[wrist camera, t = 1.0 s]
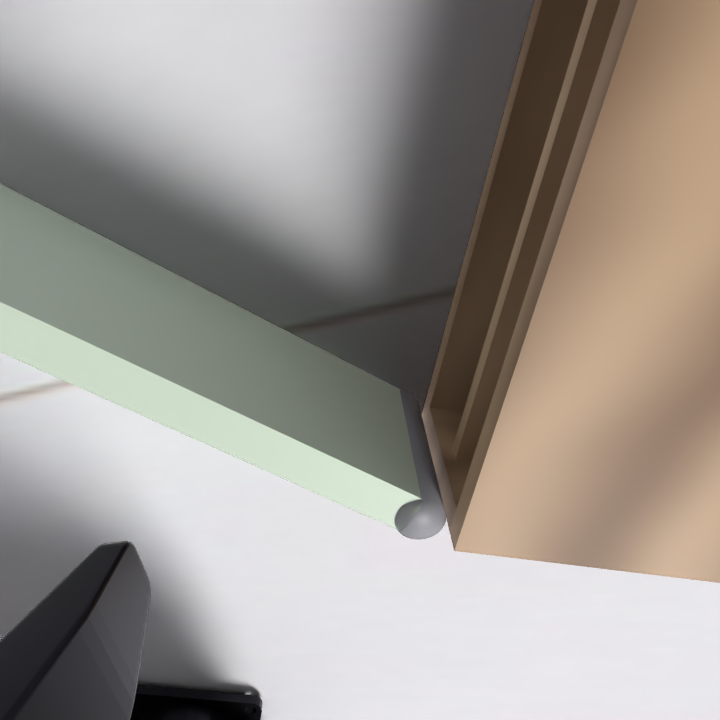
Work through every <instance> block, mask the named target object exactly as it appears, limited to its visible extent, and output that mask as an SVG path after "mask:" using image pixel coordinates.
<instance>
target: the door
mask: <svg viewBox="0 0 720 720" xmlns="http://www.w3.org/2000/svg"><path fill="white" fill-rule="evenodd" d="M0 352H1V353H4V354H6V355H8V356H10V357H12V358H15V359H17V360H19V361H21V362H24V363H26V364H28V365H30V366H33V367H35V368H37V369H39V370H42V371H44V372H46V373H48V374H51V375H53V376H55V377H57V378H59V379H62V380H64V381H66V382H68V383H71V384H73V385H75V386H77V387H80V388H82V389H84V390H86V391H89V392H91V393H93V394H95V395H97V396H100V397H102V398H104V399H106V400H109V401H111V402H113V403H115V404H118V405H120V406H122V407H124V408H127V409H129V410H131V411H133V412H135V413H138V414H140V415H142V416H144V417H147V418H149V419H151V420H153V421H156V422H158V423H160V424H162V425H165V426H167V427H169V428H171V429H174V430H176V431H178V432H180V433H182V434H185V435H187V436H189V437H191V438H194V439H196V440H198V441H200V442H203V443H205V444H207V445H209V446H212V447H214V448H216V449H218V450H220V451H223V452H225V453H227V454H229V455H232V456H234V457H236V458H238V459H241V460H243V461H245V462H247V463H250V464H252V465H254V466H256V467H258V468H261V469H263V470H265V471H267V472H270V473H272V474H274V475H276V476H279V477H281V478H283V479H285V480H288V481H290V482H292V483H294V484H296V485H299V486H301V487H303V488H305V489H308V490H310V491H312V492H314V493H317V494H319V495H321V496H323V497H326V498H328V499H330V500H332V501H335V502H337V503H339V504H341V505H343V506H346V507H348V508H350V509H352V510H355V511H357V512H359V513H361V514H364V515H366V516H368V517H370V518H373V519H375V520H377V521H379V522H381V523H384V524H386V525H388V526H390V527H393V528H395V529H397V530H398V531H399V532H400V533H401V534H402V535H403V536H405V537H408V538H411V539H426V538H429V537H432V536H434V535H435V534H437V533H438V532H439V531H440V530H441V529H442V528H443V526H444V524H445V522H446V513H445V509H444V505H443V501H442V497H441V493H440V489H439V484H438V480H437V476H436V472H435V468H434V464H433V460H432V456H431V452H430V447H429V443H428V439H427V435H426V431H425V427H424V423H423V419H422V415H421V411H420V406H419V402H418V399H417V397H416V396H415V395H414V394H413V393H412V392H410V391H408V390H404V389H398V388H397V387H395V386H393V385H391V384H389V383H387V382H385V381H383V380H381V379H379V378H377V377H375V376H373V375H371V374H369V373H367V372H365V371H364V370H362V369H360V368H358V367H356V366H354V365H352V364H350V363H348V362H346V361H344V360H342V359H340V358H338V357H336V356H334V355H332V354H330V353H329V352H327V351H325V350H323V349H321V348H319V347H317V346H315V345H313V344H311V343H309V342H307V341H305V340H303V339H301V338H299V337H297V336H296V335H294V334H292V333H290V332H288V331H286V330H284V329H282V328H280V327H278V326H276V325H274V324H272V323H270V322H268V321H266V320H264V319H262V318H261V317H259V316H257V315H255V314H253V313H251V312H249V311H247V310H245V309H243V308H241V307H239V306H237V305H235V304H233V303H231V302H229V301H227V300H226V299H224V298H222V297H220V296H218V295H216V294H214V293H212V292H210V291H208V290H206V289H204V288H202V287H200V286H198V285H196V284H194V283H193V282H191V281H189V280H187V279H185V278H183V277H181V276H179V275H177V274H175V273H173V272H171V271H169V270H167V269H165V268H163V267H161V266H159V265H158V264H156V263H154V262H152V261H150V260H148V259H146V258H144V257H142V256H140V255H138V254H136V253H134V252H132V251H130V250H128V249H126V248H124V247H123V246H121V245H119V244H117V243H115V242H113V241H111V240H109V239H107V238H105V237H103V236H101V235H99V234H97V233H95V232H93V231H91V230H90V229H88V228H86V227H84V226H82V225H80V224H78V223H76V222H74V221H72V220H70V219H68V218H66V217H64V216H62V215H60V214H58V213H56V212H55V211H53V210H51V209H49V208H47V207H45V206H43V205H41V204H39V203H37V202H35V201H33V200H31V199H29V198H27V197H25V196H23V195H21V194H20V193H18V192H16V191H14V190H12V189H10V188H8V187H6V186H4V185H2V184H0Z"/></svg>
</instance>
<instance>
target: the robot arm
mask: <svg viewBox="0 0 720 720" xmlns="http://www.w3.org/2000/svg"><path fill="white" fill-rule="evenodd" d="M150 595H151V588H150V581H149V578H148V576H147V573H146V571H145V569H144V566H143V564H142V562H141V559H140V557H139V555H138V553H137V550H136V548H135V546H134V545H133V544H132V543H131V542H128V541H121V542H111V543H104V544H101V545H100V546H98V547H97V548H96V549H95V550H94V551H93V552H92V553H91V554H90V555H89V556H88V557H87V558H86V559H84V560H83V561H82V562H81V563H80V564H79V565H78V566H77V567H76V568H75V569H74V570H73V571H72V572H71V573H70V574H69V575H68V576H67V577H66V578H65V579H64V580H63V581H62V582H61V583H60V584H59V585H58V586H57V587H56V588H55V589H53V590H52V591H51V592H50V593H49V594H48V595H47V596H46V597H45V598H44V599H43V600H42V601H41V602H40V603H39V604H38V605H37V606H36V607H35V608H34V609H33V610H32V611H31V612H30V613H29V614H28V615H27V616H26V617H25V618H23V619H22V620H21V621H20V622H19V623H18V624H17V625H16V626H15V627H14V628H13V629H12V630H11V631H10V632H9V633H8V634H7V635H6V636H5V637H4V638H3V639H2V640H1V641H0V720H260V717H261V712H262V700H261V699H260V698H259V697H257V696H253V695H242V694H231V693H219V692H208V691H197V690H186V689H174V688H163V687H152V686H141V685H137V682H138V676H139V669H140V662H141V656H142V649H143V642H144V636H145V629H146V622H147V616H148V609H149V602H150Z"/></svg>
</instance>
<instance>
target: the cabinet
mask: <svg viewBox="0 0 720 720" xmlns="http://www.w3.org/2000/svg"><path fill="white" fill-rule="evenodd" d="M422 419H423V423H424V427H425V431H426V435H427V439H428V443H429V447H430V452H431V456H432V460H433V464H434V468H435V472H436V476H437V480H438V484H439V489H440V493H441V497H442V501H443V505H444V509H445V513H446V518H447V522H448V526H449V530H450V535H451V539H452V543H453V547H454V551H461V552H469V553H477V554H486V555H494V556H502V557H510V558H519V559H527V560H535V561H544V562H552V563H560V564H569V565H577V566H585V567H593V568H602V569H610V570H618V571H627V572H635V573H643V574H652V575H660V576H668V577H676V578H685V579H693V580H701V581H710V582H718V583H720V0H534V3H533V6H532V10H531V14H530V17H529V21H528V25H527V28H526V32H525V36H524V39H523V43H522V47H521V51H520V54H519V58H518V62H517V65H516V69H515V73H514V76H513V80H512V84H511V87H510V91H509V95H508V98H507V102H506V106H505V109H504V113H503V117H502V120H501V124H500V128H499V131H498V135H497V139H496V143H495V146H494V150H493V154H492V157H491V161H490V165H489V168H488V172H487V176H486V179H485V183H484V187H483V190H482V194H481V198H480V201H479V205H478V209H477V212H476V216H475V220H474V224H473V227H472V231H471V235H470V238H469V242H468V246H467V249H466V253H465V257H464V260H463V264H462V268H461V271H460V275H459V279H458V282H457V286H456V290H455V293H454V297H453V301H452V305H451V308H450V312H449V316H448V319H447V323H446V327H445V330H444V334H443V338H442V341H441V345H440V349H439V352H438V356H437V360H436V363H435V367H434V371H433V374H432V378H431V382H430V385H429V389H428V393H427V397H426V400H425V404H424V408H423V411H422Z"/></svg>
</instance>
